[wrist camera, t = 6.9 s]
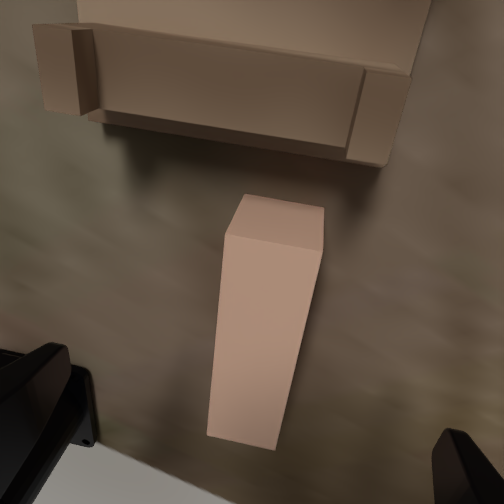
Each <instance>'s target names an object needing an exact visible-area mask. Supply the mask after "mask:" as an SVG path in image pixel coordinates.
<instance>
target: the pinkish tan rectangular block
mask: <svg viewBox="0 0 504 504" xmlns="http://www.w3.org/2000/svg"><path fill="white" fill-rule="evenodd" d="M323 234H324V207H318V206H312V205H307V204H301V203H295V202H290V201H284V200H278V199H273V198H267V197H261V196H255V195H250V194H244V196H243V198H242V200H241V202H240V204H239V206H238V208H237V210H236V213H235V215H234V217H233V219H232V221H231V223H230V225H229V227H228V229H227V231H226V233H225V242H224V253H223V264H222V275H221V286H220V296H219V307H218V318H217V329H216V340H215V351H214V362H213V372H212V383H211V394H210V405H209V416H208V427H207V435H208V436H212V437H217V438H221V439H226V440H230V441H234V442H239V443H243V444H248V445H252V446H257V447H261V448H265V449H270V450H274V451H275V449H276V444H277V440H278V436H279V432H280V428H281V424H282V419H283V415H284V411H285V407H286V403H287V399H288V395H289V390H290V386H291V382H292V378H293V374H294V370H295V366H296V361H297V357H298V353H299V349H300V345H301V341H302V336H303V332H304V328H305V324H306V320H307V316H308V312H309V307H310V303H311V299H312V295H313V291H314V287H315V283H316V278H317V274H318V270H319V266H320V262H321V258H322V254H323Z"/></svg>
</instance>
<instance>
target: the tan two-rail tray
mask: <svg viewBox="0 0 504 504" xmlns="http://www.w3.org/2000/svg"><path fill="white" fill-rule="evenodd" d="M431 1H432V0H77V8H78V19H79V23H63V24H34V25H32V28H33V35H34V41H35V48H36V55H37V61H38V68H39V75H40V82H41V88H42V95H43V102H44V108H45V110H46V111H52V112H58V113H65V114H71V115H77V116H82V115H84V114H87V113H88V121H94V122H100V123H107V124H113V125H119V126H125V127H131V128H138V129H144V130H150V131H156V132H162V133H169V134H175V135H181V136H187V137H193V138H199V139H206V140H212V141H218V142H224V143H230V144H237V145H243V146H249V147H255V148H261V149H268V150H274V151H280V152H286V153H292V154H299V155H305V156H311V157H317V158H323V159H330V160H336V161H342V162H348V163H354V164H361V165H367V166H373V167H379V168H383V166H384V165H387V163H388V159H389V156H390V153H391V149H392V146H393V142H394V139H395V136H396V132H397V129H398V125H399V122H400V119H401V115H402V112H403V108H404V105H405V102H406V98H407V95H408V91H409V88H410V85H411V81H412V78H411V77H410V73H411V70H412V66H413V63H414V59H415V56H416V53H417V49H418V46H419V42H420V39H421V35H422V32H423V28H424V25H425V22H426V18H427V15H428V11H429V8H430V4H431Z"/></svg>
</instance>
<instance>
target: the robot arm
mask: <svg viewBox="0 0 504 504" xmlns="http://www.w3.org/2000/svg"><path fill="white" fill-rule="evenodd" d="M96 441H97V433H96V426H95V418H94V411H93V404H92V397H91V390H90V383H89V376H88V373H87V371H86V370H85V369H83V368H82V367H79V366H74V365H71V363H70V358H69V352H68V348H67V346H66V345H63V344H58V343H54V342H50V343H47V344H45V345H43V346H41V347H39V348H37V349H36V350H34V351H32V352H30V353H28V354H26V355H24V354H19V353H15V352H10V351H6V350H1V349H0V504H32V503H33V502H34V500H35V499H36V497H37V495H38V494H39V492H40V490H41V489H42V487H43V485H44V484H45V482H46V481H47V479H48V477H49V476H50V474H51V472H52V471H53V469H54V467H55V466H56V464H57V462H58V461H59V459H60V458H61V456H62V454H63V453H64V451H65V450H66V448H67V446H68V445H69V443H72V444H76V445H80V446H84V447H93V446H94V444H95V442H96ZM432 472H433V486H434V500H435V504H504V479H503V478H502V477H501V475H500V474H499V473H498V472H497V470H496V469H495V468H494V467H493V465H492V464H491V463H490V461H489V460H488V459H487V458H486V456H485V455H484V454H483V453H482V451H481V450H480V449H479V448H478V446H477V445H476V444H475V442H474V441H473V440H472V439H471V437H470V436H469V435H468V434H467V433H466V432H464V431H461V430H456V429H451V428H446V429H445V430H444V431H443V432H442V434H441V436H440V438H439V439H438V441H437V443H436V445H435V446H434V448H433V451H432Z"/></svg>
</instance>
